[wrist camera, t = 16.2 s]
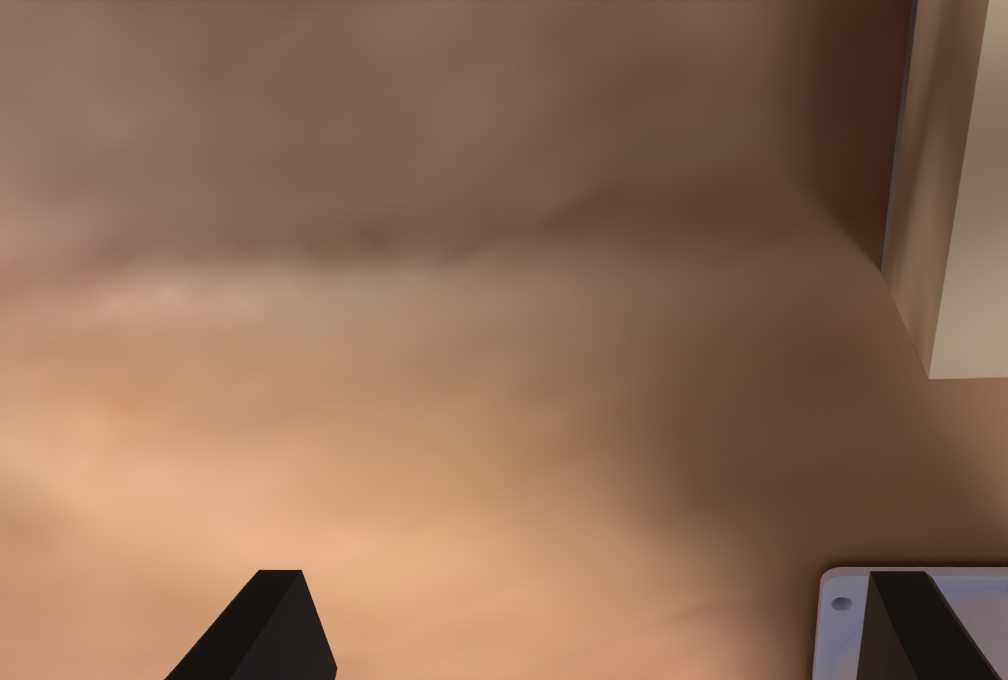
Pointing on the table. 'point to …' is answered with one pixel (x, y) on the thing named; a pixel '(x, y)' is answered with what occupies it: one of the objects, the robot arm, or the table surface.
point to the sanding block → (952, 189)
